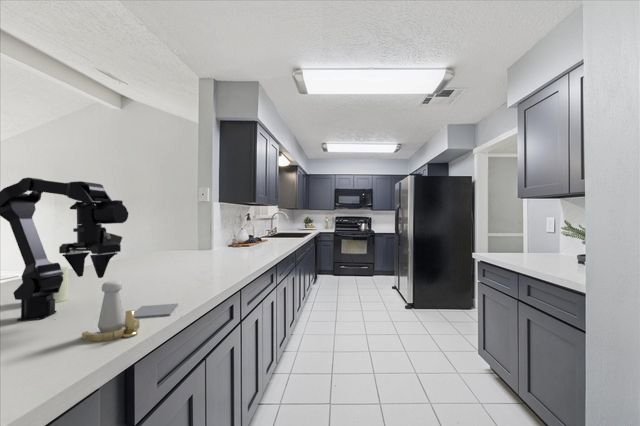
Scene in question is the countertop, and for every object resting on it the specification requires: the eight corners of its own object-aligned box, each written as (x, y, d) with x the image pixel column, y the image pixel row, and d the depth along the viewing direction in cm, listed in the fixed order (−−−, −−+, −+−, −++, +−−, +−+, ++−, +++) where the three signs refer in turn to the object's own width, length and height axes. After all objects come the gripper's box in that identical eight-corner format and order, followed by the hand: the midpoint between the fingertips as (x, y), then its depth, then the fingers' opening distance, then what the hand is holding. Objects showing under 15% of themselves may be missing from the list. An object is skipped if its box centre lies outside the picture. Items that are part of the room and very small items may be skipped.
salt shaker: (130, 327, 77) (131, 279, 77) (113, 336, 71) (113, 284, 72) (110, 327, 78) (111, 279, 78) (91, 335, 72) (92, 283, 72)
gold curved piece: (80, 339, 69) (80, 314, 70) (129, 322, 81) (129, 301, 81) (108, 346, 66) (109, 320, 66) (155, 327, 77) (155, 305, 77)
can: (51, 304, 98) (52, 269, 98) (25, 304, 98) (25, 269, 98) (75, 297, 107) (75, 265, 107) (50, 297, 107) (51, 265, 108)
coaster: (128, 319, 84) (128, 317, 84) (141, 307, 94) (141, 305, 94) (169, 315, 86) (169, 313, 86) (178, 305, 97) (178, 303, 97)
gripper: (137, 222, 89) (138, 273, 89) (98, 224, 96) (98, 271, 95) (99, 223, 79) (100, 280, 78) (57, 225, 85) (58, 278, 85)
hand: (90, 277), depth 85 cm, fingers open, 9 cm apart
